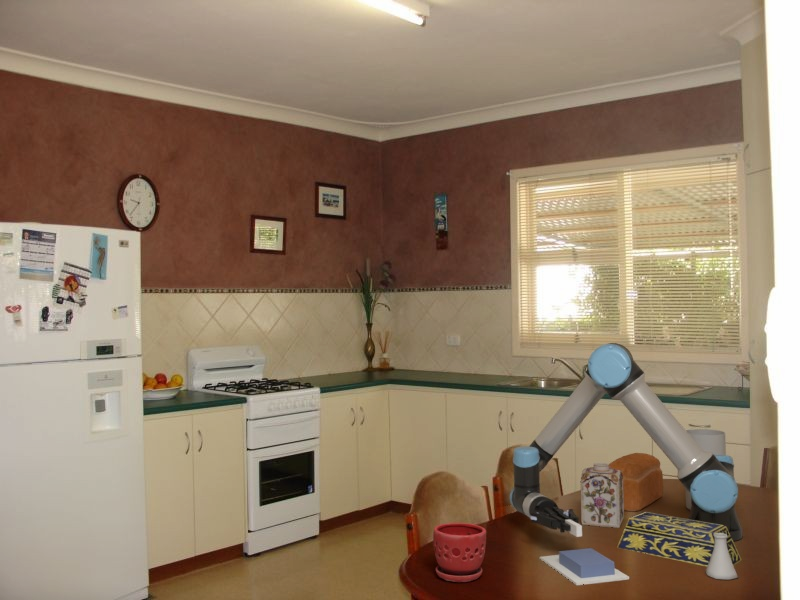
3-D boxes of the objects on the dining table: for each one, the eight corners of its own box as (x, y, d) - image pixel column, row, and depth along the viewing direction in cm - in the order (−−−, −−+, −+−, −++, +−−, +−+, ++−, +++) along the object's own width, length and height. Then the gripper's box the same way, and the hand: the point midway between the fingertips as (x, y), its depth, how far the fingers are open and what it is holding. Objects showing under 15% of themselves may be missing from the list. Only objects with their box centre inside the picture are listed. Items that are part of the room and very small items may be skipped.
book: (559, 551, 200) (580, 565, 188) (590, 548, 202) (614, 562, 190) (559, 563, 200) (581, 578, 188) (591, 559, 202) (614, 574, 190)
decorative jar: (580, 525, 237) (579, 466, 237) (586, 516, 248) (584, 459, 248) (621, 528, 233) (619, 468, 233) (625, 518, 243) (623, 461, 244)
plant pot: (472, 589, 184) (471, 538, 185) (424, 580, 191) (423, 531, 192) (495, 572, 196) (494, 524, 196) (449, 564, 202) (448, 518, 203)
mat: (539, 559, 206) (539, 556, 206) (587, 553, 209) (587, 551, 209) (576, 585, 185) (576, 582, 185) (629, 579, 189) (629, 576, 189)
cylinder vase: (708, 503, 261) (705, 428, 261) (736, 511, 249) (733, 433, 249) (677, 507, 256) (675, 431, 257) (705, 516, 244) (702, 436, 245)
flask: (700, 571, 193) (699, 531, 193) (728, 570, 194) (727, 529, 194) (714, 581, 186) (713, 539, 186) (743, 580, 187) (742, 538, 187)
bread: (598, 507, 258) (597, 460, 258) (627, 492, 279) (625, 448, 279) (639, 513, 250) (638, 464, 250) (665, 497, 271) (664, 451, 271)
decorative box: (726, 572, 193) (725, 535, 194) (616, 548, 214) (615, 516, 214) (742, 561, 201) (741, 526, 201) (635, 540, 222) (634, 508, 222)
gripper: (562, 520, 221) (603, 543, 198) (519, 524, 218) (555, 548, 195) (561, 494, 221) (602, 514, 199) (518, 497, 218) (555, 518, 195)
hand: (579, 531), depth 197 cm, fingers closed
